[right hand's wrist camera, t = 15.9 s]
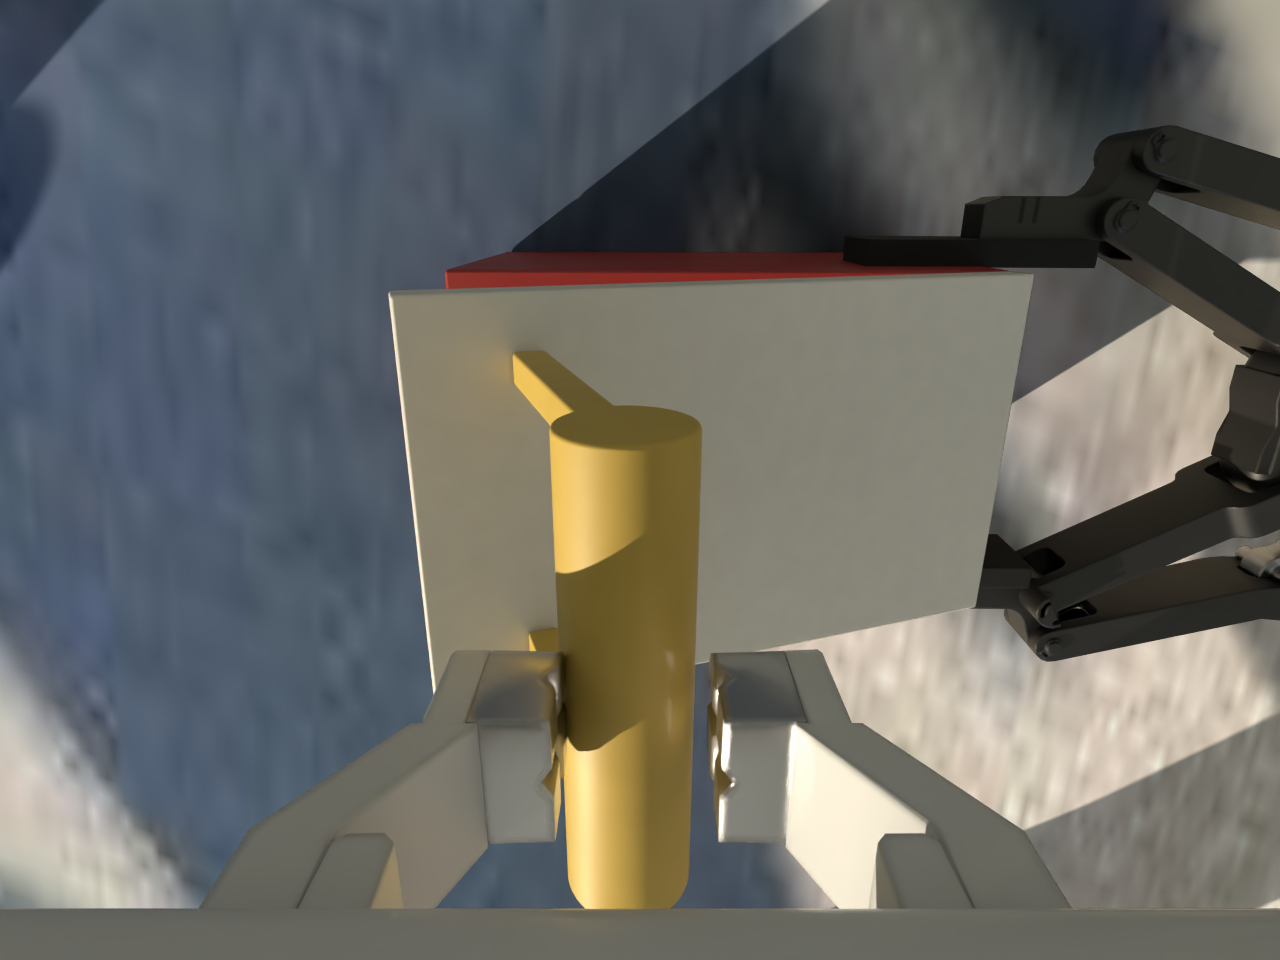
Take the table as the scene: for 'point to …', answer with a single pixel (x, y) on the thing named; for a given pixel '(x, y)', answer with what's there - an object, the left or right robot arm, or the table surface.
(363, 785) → the right robot arm
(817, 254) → the chest
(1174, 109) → the table surface
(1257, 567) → the left robot arm
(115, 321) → the table surface
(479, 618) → the lid
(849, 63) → the table surface
